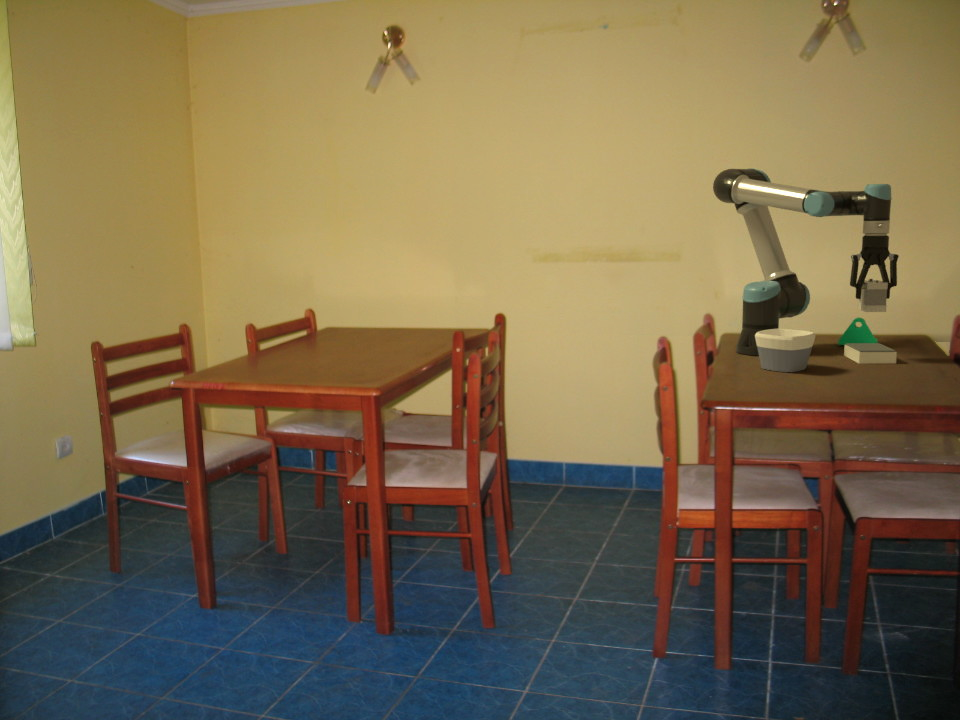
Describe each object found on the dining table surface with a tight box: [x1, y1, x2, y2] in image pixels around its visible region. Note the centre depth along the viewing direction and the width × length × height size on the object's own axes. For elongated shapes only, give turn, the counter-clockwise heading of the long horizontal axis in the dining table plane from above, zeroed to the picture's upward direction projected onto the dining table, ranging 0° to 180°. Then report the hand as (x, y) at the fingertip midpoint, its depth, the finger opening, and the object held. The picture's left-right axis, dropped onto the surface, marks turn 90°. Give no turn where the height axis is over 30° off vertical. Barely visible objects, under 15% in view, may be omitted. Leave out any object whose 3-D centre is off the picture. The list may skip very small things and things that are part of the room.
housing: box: [858, 278, 888, 313], centre depth 279 cm, size 6×8×10 cm
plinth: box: [843, 342, 897, 365], centre depth 283 cm, size 11×15×4 cm
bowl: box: [755, 328, 816, 373], centre depth 269 cm, size 15×15×11 cm
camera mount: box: [837, 317, 879, 346], centre depth 307 cm, size 12×8×10 cm, turn 64°
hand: (871, 309), depth 280 cm, fingers closed on housing, 6 cm apart
